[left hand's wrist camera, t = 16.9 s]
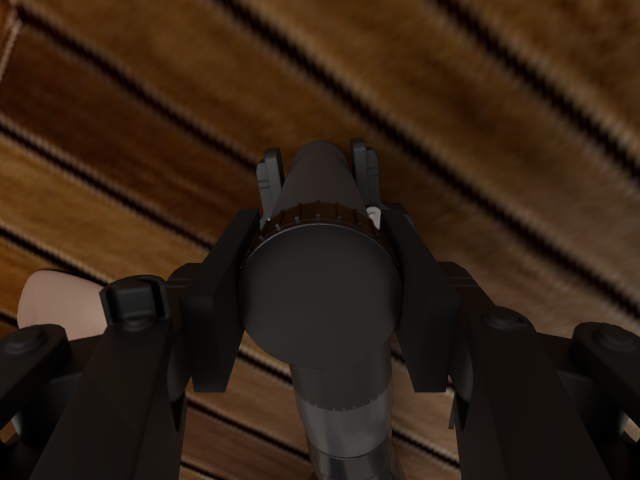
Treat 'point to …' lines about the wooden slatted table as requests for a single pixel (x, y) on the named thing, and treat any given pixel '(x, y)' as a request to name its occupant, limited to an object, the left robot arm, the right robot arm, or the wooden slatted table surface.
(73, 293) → the anatomical model
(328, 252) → the lid
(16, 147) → the wooden slatted table surface
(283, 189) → the bottle
